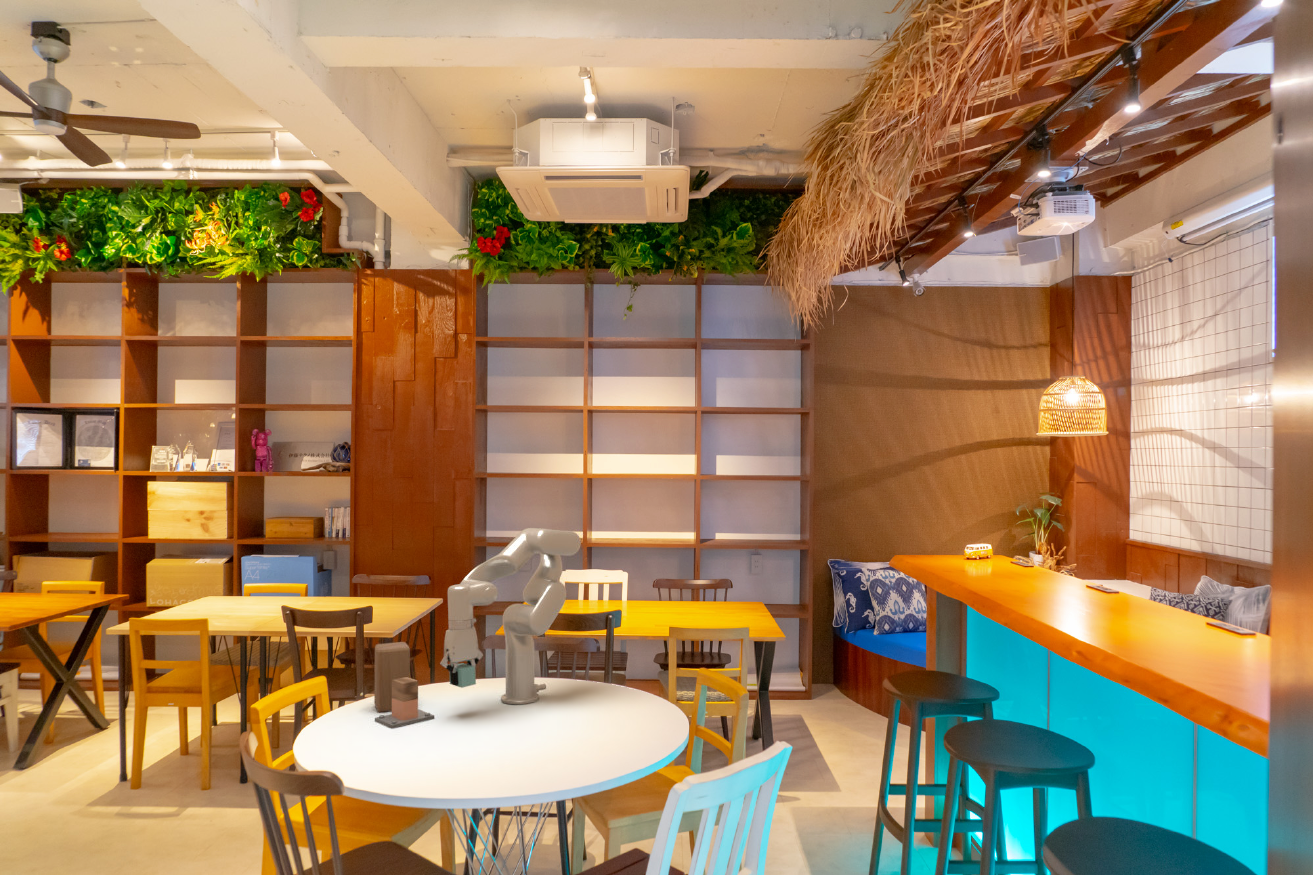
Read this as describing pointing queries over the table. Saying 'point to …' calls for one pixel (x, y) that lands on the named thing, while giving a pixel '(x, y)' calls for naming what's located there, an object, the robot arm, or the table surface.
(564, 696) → the table surface
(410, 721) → the baseplate
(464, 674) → the teal brick
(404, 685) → the walnut brick
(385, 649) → the block
